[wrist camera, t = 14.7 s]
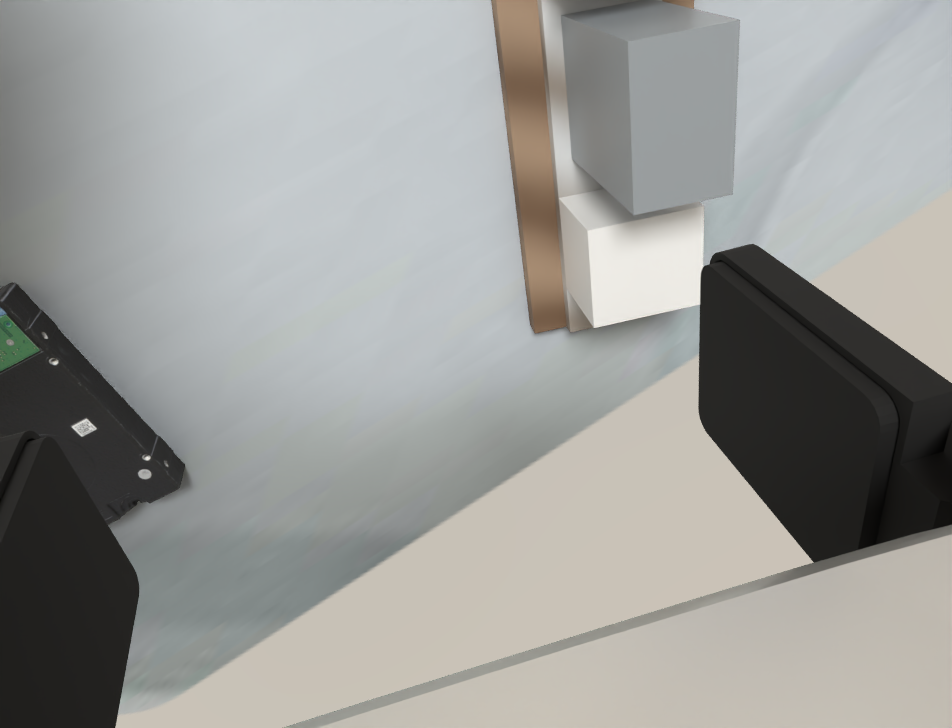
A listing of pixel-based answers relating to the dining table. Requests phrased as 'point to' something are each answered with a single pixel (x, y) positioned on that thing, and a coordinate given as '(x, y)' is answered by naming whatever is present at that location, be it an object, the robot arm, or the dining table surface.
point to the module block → (653, 101)
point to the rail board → (542, 146)
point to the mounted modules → (630, 257)
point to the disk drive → (77, 412)
